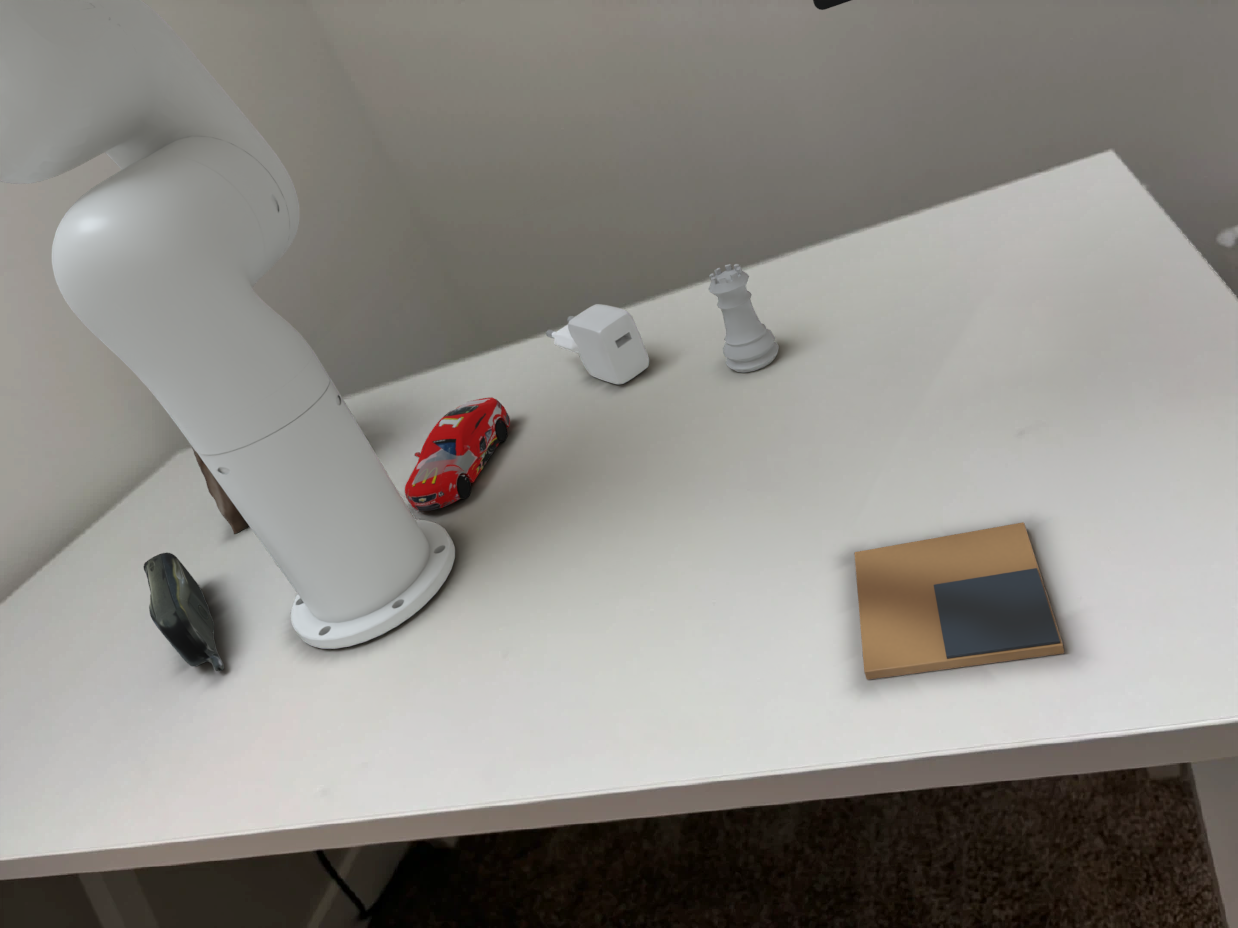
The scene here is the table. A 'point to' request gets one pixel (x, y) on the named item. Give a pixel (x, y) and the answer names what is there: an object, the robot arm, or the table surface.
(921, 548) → the cork mat
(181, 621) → the dark green oblong piece
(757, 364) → the rook chess piece
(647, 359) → the power adapter
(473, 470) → the race car
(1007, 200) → the table surface
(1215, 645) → the table surface
